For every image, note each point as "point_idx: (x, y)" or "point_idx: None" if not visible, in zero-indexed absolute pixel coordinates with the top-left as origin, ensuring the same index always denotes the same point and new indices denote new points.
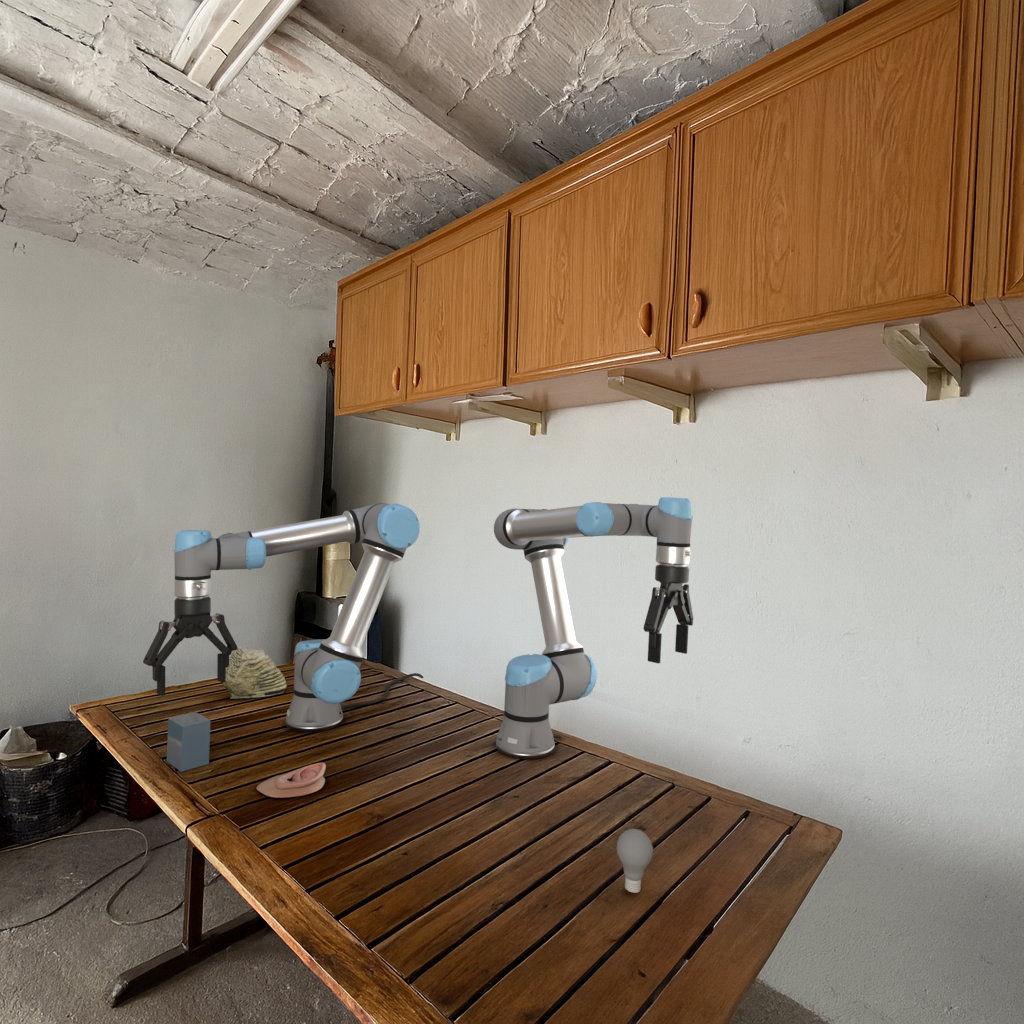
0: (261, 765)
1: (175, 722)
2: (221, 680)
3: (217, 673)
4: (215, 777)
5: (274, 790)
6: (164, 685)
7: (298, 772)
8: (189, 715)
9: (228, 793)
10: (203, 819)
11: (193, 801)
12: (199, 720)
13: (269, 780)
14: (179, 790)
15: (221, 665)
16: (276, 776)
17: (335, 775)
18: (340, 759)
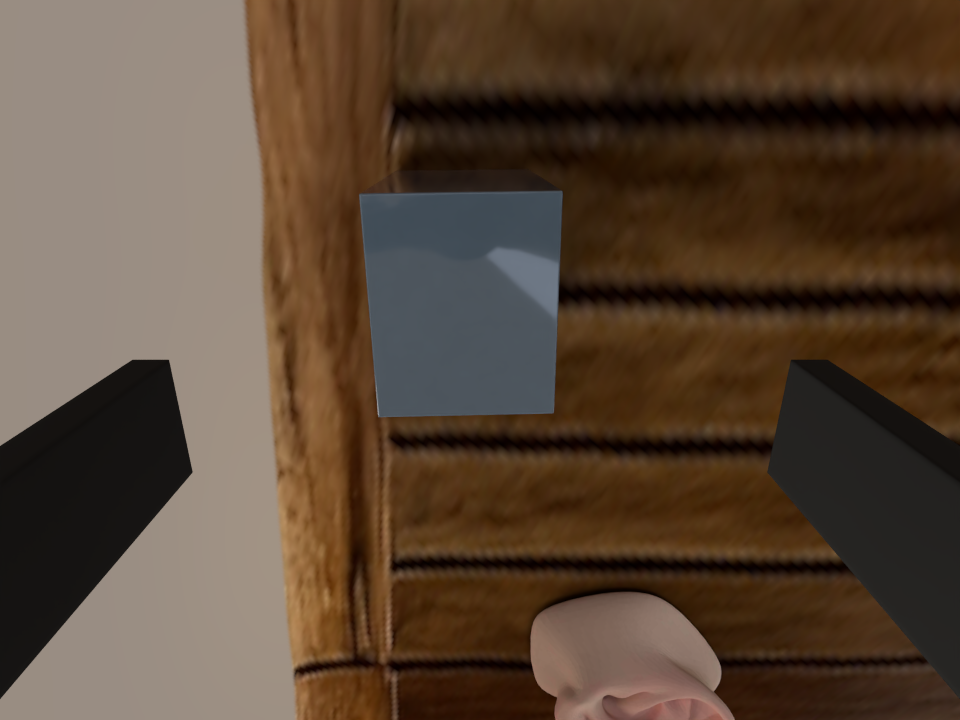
0: (659, 468)
1: (370, 315)
2: (781, 464)
3: (837, 401)
4: (484, 455)
5: (552, 687)
6: (127, 537)
7: (650, 703)
8: (494, 241)
9: (460, 582)
10: (338, 667)
11: (354, 565)
12: (500, 379)
13: (572, 649)
14: (345, 471)
15: (894, 586)
16: (608, 635)
17: (763, 668)
18: None
